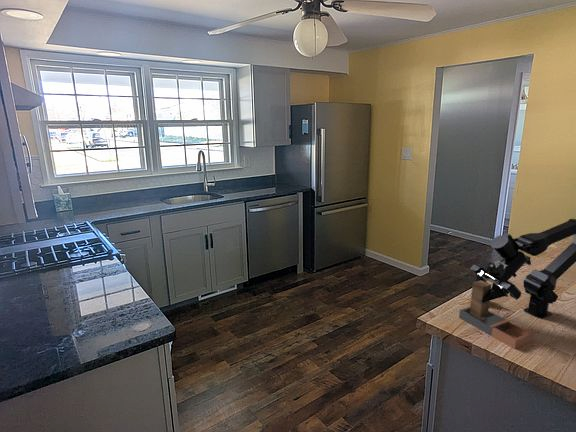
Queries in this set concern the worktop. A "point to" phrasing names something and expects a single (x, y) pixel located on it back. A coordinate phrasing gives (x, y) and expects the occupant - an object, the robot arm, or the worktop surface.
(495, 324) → the rail
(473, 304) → the peg
